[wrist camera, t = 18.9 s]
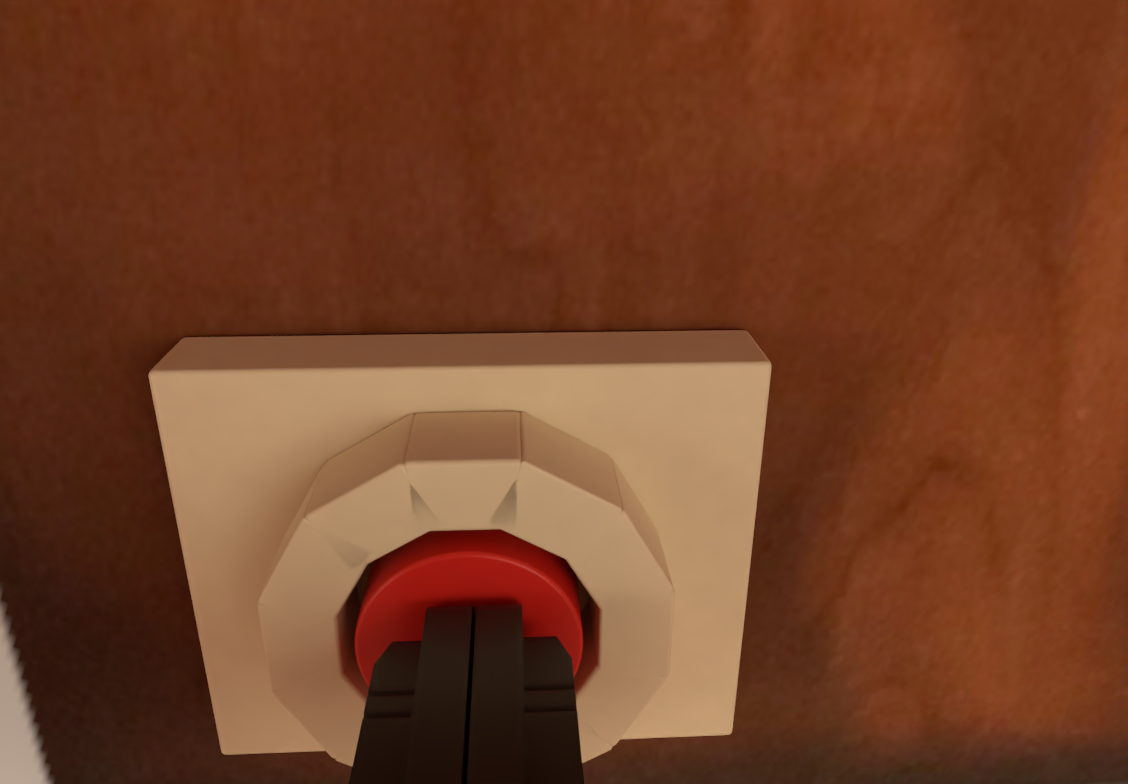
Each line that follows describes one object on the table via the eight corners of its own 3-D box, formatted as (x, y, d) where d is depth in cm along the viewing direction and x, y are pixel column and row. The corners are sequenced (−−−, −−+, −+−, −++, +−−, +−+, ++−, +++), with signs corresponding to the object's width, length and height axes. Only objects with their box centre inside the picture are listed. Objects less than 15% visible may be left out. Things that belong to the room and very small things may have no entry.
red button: (378, 668, 16) (363, 741, 14) (361, 497, 15) (343, 556, 13) (574, 662, 16) (582, 732, 15) (577, 491, 15) (585, 550, 13)
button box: (244, 694, 19) (188, 837, 15) (181, 335, 15) (95, 421, 12) (714, 677, 19) (756, 812, 16) (747, 328, 16) (808, 408, 13)
